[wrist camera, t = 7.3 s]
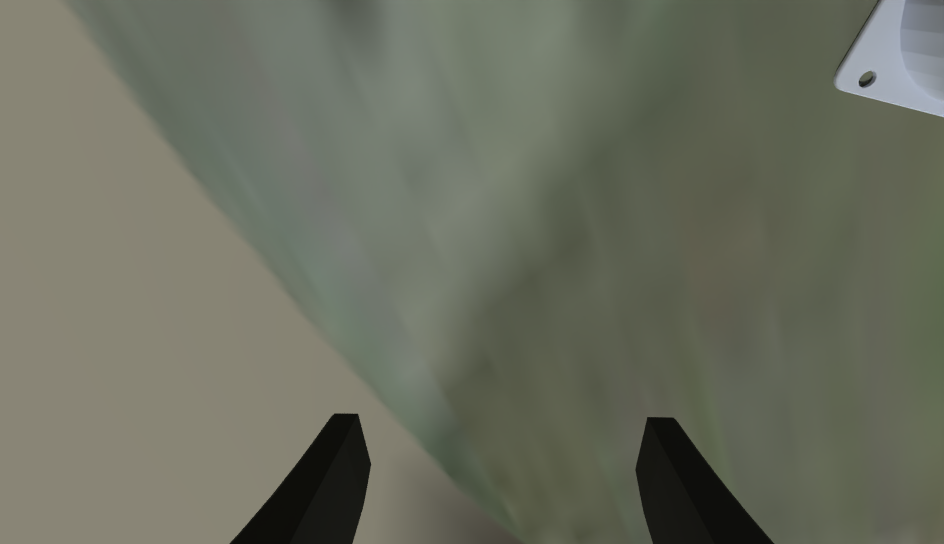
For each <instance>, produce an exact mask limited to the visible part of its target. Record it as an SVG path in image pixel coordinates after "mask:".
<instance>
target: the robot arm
mask: <svg viewBox="0 0 944 544" xmlns="http://www.w3.org/2000/svg"><path fill="white" fill-rule="evenodd" d="M867 71H872V72H873V78H872V80H871V82H870V83H869V84H867V85H865V86H863V87H860V86H859V83H858V82H859V79H860V77H861V76H862V75H863V74H864V73H865V72H867ZM834 85H835V86H836V88H837V89H839V90H841V91H845V92H849V93H852V94H856V95H860V96H864V97H868V98H872V99H876V100H880V101H883V102H887V103H891V104H895V105H899V106H903V107H907V108H911V109H914V110H918V111H922V112H926V113H930V114H934V115H938V116H942V117H944V0H879V2H878V3H877V5H876V6H875V8H874V10H873V11H872V13H871V15H870V16H869V18H868V20H867V21H866V23H865V25H864V26H863V28H862V30H861V31H860V33H859V35H858V36H857V38H856V40H855V41H854V43H853V45H852V46H851V48H850V50H849V51H848V53H847V55H846V56H845V58H844V60H843V61H842V63H841V64H840V66H839V68H838V69H837V71H836V74H835V76H834ZM370 467H371V462H370V458H369V454H368V451H367V447H366V443H365V439H364V435H363V432H362V427H361V423H360V419H359V416H358V414H334V415H333V416H332V417H331V418H330V419H329V421H328V422H327V423H326V425H325V426H324V428H323V429H322V430H321V432H320V433H319V434H318V436H317V437H316V439H315V440H314V441H313V443H312V444H311V445H310V447H309V448H308V450H307V451H306V452H305V454H304V455H303V456H302V458H301V459H300V460H299V461H298V463H297V464H296V465H295V467H294V468H293V469H292V471H291V472H290V473H289V474H288V476H287V477H286V478H285V479H284V481H283V482H282V483H281V484H280V486H279V487H278V488H277V489H276V491H275V492H274V493H273V495H272V496H271V497H270V498H269V499H268V500H267V502H266V503H265V504H264V505H263V506H262V508H261V509H260V510H259V511H258V512H257V513H256V514H255V516H254V517H253V518H252V519H251V520H250V521H249V523H248V524H247V525H246V526H245V527H244V528H243V529H242V531H241V532H240V533H239V534H238V535H237V536H236V537H235V538H234V539H233V540H232V541H231V543H230V544H352V543H353V539H354V536H355V533H356V529H357V526H358V523H359V519H360V516H361V512H362V509H363V505H364V500H365V495H366V490H367V484H368V478H369V473H370ZM635 470H636V475H637V480H638V486H639V491H640V496H641V501H642V506H643V511H644V515H645V518H646V522H647V525H648V528H649V532H650V535H651V538H652V542H653V544H774V543H773V542H772V541H771V539H770V538H769V537H768V536H767V535H766V534H765V533H764V531H763V530H762V529H761V528H760V527H759V526H758V525H757V523H756V522H755V521H754V520H753V519H752V518H751V516H750V515H749V514H748V513H747V512H746V511H745V509H744V508H743V507H742V506H741V504H740V503H739V502H738V501H737V499H736V498H735V497H734V496H733V495H732V493H731V492H730V491H729V490H728V488H727V487H726V486H725V485H724V484H723V482H722V481H721V480H720V478H719V477H718V476H717V475H716V473H715V472H714V471H713V469H712V468H711V467H710V465H709V464H708V463H707V462H706V460H705V459H704V458H703V456H702V455H701V454H700V452H699V451H698V450H697V448H696V447H695V445H694V444H693V443H692V441H691V440H690V439H689V437H688V436H687V434H686V433H685V432H684V430H683V429H682V427H681V426H680V425H679V423H678V422H677V421H676V420H675V419H674V418H665V417H647V422H646V426H645V430H644V435H643V439H642V443H641V448H640V452H639V456H638V461H637V465H636V469H635Z"/></svg>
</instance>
